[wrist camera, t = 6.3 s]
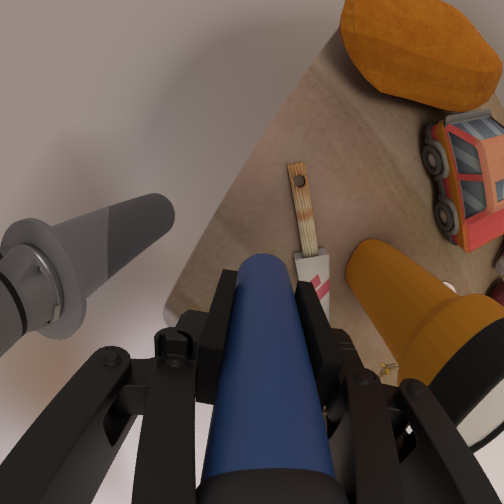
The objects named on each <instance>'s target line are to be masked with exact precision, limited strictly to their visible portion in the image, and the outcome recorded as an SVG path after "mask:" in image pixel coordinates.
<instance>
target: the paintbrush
mask: <svg viewBox="0 0 504 504" xmlns="http://www.w3.org/2000/svg"><path fill="white" fill-rule="evenodd" d="M287 166H288V171H289V177H290V182H291V187H292V193H293V198H294V204H295V210H296V215H297V221H298V227H299V233H300V239H301V245H302V252H298V253H293V254H294V259H295V264H296V269H297V274H298V279H299V281H306V282H312V284H313V286H314V288H315V291H316V293H317V295H318V298H319V300H320V302H321V305H322V307H323V310H324V312H325V314H326V317H327V319H328V322H329V305H330V284H329V254H326V251H325V248H319V249H318V247H317V239H316V231H315V224H314V217H313V211H312V205H311V198H310V192H309V187H308V181H307V175H306V170H305V164H304V162H300V163H294V164H288V165H287ZM297 175H301V176H302V177H303V178H304V184H303V185H302V186H301V187H296V186H295V184H294V181H293V180H294V178H295V176H297Z"/></svg>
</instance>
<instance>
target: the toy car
mask: <svg viewBox="0 0 504 504" xmlns="http://www.w3.org/2000/svg"><path fill="white" fill-rule="evenodd" d="M425 136H426V138H425V140H424V141H425V143H426V144H429V145H426V146H424V149H423V154H422V156H423V161H424V164H425V166H426V168H427V169H428V171H429V172H430V173H431V174H433V175H438V176H435V177H434V179H435V181H437V184H438V188H439V193H440V195H439V196H438V199H439V200H440V202H438V203H437V204H436V206H435V216H436V220H437V222H438V224H439V225H440V227H441V228H442V229H444V230H445V231H444V234H445V235H446V236H447V240H448V241H449V242H451V243H452V244H454V245H455V246H456V245H459V246H460V247H461V248H462V249H463V250H464V251H465V252H467V253H470V252H472V251H474V250H476V249H477V248H479V247H481V246H483V245H485V244H487V243H489V242H490V241H492V240H494V239H496V238H497V237H499V236H501V235H503V234H504V126H502V125H501V124H500V123H499V122H497V121H496V120H495V119H494V118H492V115H491V110H490V109H485V110H478V111H472V112H466V113H461V114H455V115H450V116H446V117H445V118H444V120H440V121H437V122H433V123H429V124H427V126H426V129H425ZM439 174H440V175H439Z"/></svg>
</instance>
